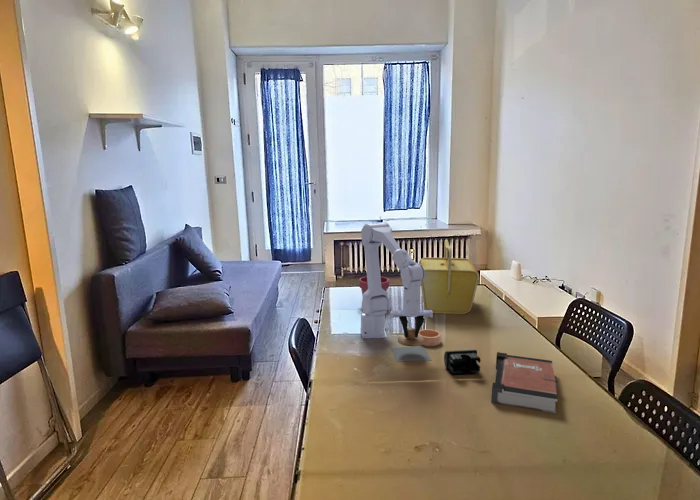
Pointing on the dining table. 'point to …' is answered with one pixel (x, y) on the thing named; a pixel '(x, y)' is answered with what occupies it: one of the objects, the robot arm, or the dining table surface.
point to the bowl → (430, 337)
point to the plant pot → (364, 284)
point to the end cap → (462, 362)
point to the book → (525, 383)
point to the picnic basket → (448, 283)
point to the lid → (410, 338)
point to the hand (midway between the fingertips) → (410, 336)
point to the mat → (410, 354)
